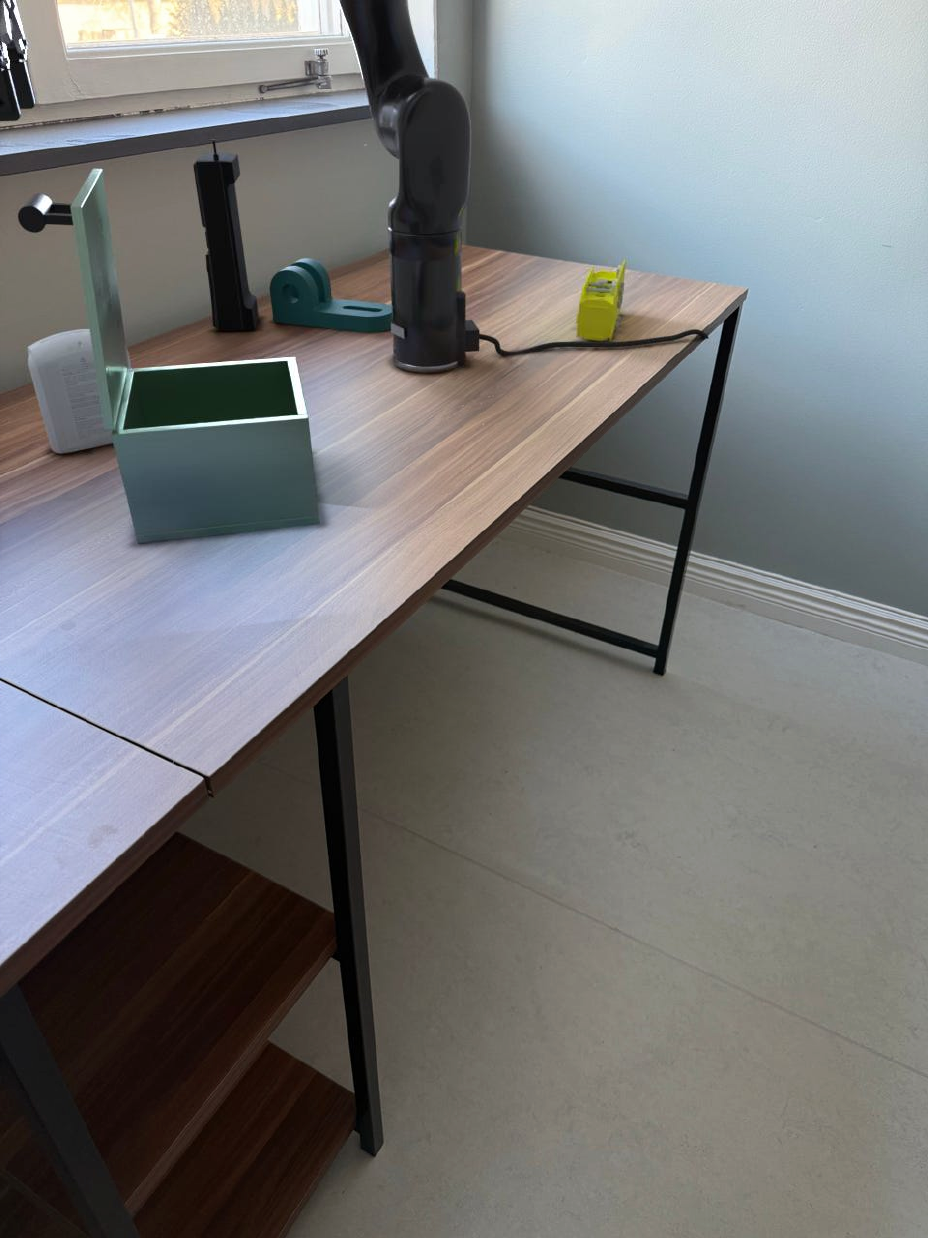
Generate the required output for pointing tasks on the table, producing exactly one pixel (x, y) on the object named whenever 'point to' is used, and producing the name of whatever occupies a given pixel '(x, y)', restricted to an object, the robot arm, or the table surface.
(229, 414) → the box
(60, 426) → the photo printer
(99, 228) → the lid
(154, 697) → the table surface
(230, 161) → the portable radio
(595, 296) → the yellow toy chassis
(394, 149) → the robot arm
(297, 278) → the bracket
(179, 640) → the table surface
